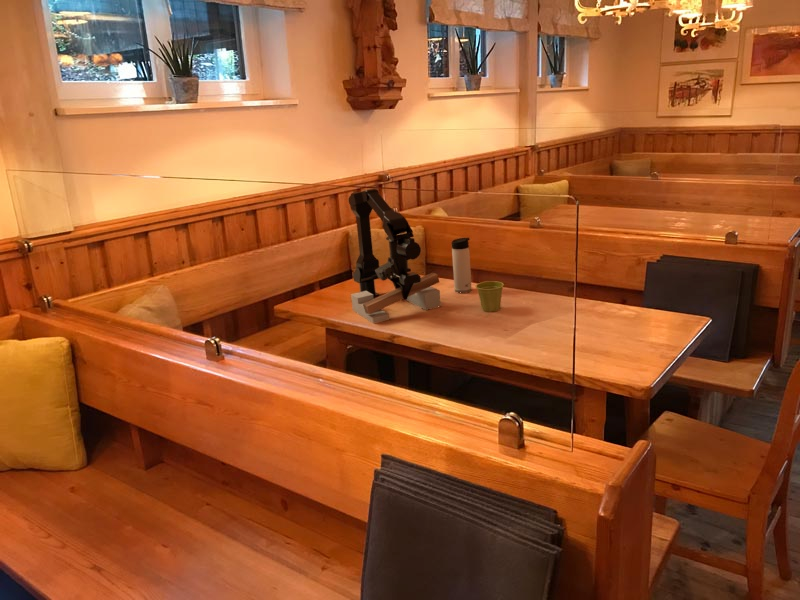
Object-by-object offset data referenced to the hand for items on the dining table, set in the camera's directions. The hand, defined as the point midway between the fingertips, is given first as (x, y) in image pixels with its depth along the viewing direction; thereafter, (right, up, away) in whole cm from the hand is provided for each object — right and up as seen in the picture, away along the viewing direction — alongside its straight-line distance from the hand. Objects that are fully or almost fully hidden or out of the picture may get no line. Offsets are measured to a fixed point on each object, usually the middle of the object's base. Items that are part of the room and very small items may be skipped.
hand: (402, 298), depth 232 cm
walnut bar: (0, 0, 0) cm, 1 cm away
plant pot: (+30, -4, -3) cm, 30 cm away
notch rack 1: (-11, -6, +3) cm, 13 cm away
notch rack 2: (+7, -1, +11) cm, 13 cm away
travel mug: (+23, +3, +19) cm, 30 cm away
